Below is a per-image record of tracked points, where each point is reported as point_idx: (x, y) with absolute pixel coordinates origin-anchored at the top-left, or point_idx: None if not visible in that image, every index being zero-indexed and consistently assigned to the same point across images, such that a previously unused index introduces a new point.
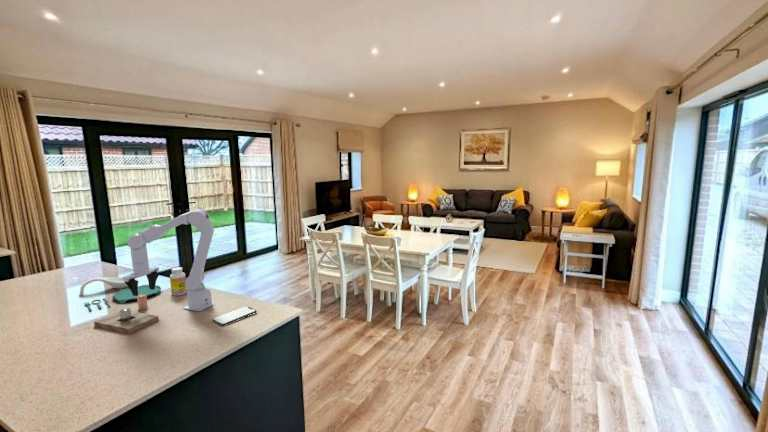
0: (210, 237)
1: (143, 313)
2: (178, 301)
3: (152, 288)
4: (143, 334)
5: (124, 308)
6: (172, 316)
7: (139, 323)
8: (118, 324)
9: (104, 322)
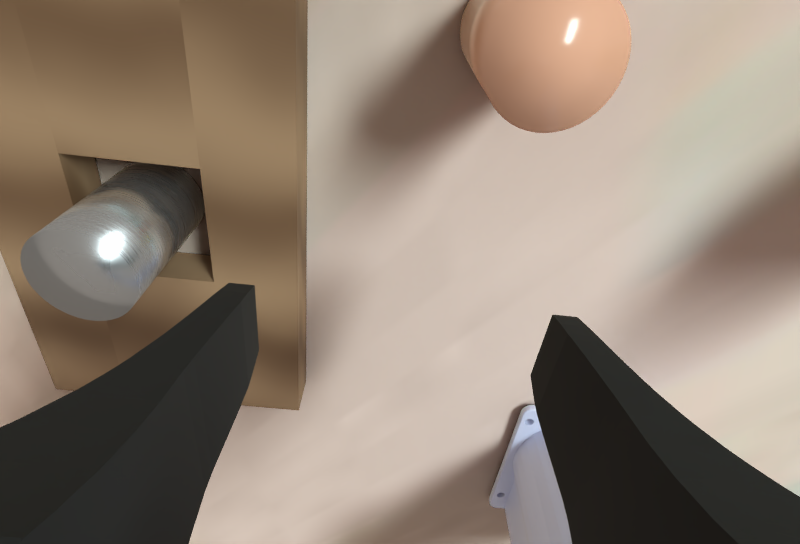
0: None
1: (295, 276)
2: (709, 264)
3: (538, 380)
4: None
5: (93, 245)
6: (390, 412)
7: None
8: None
9: None
